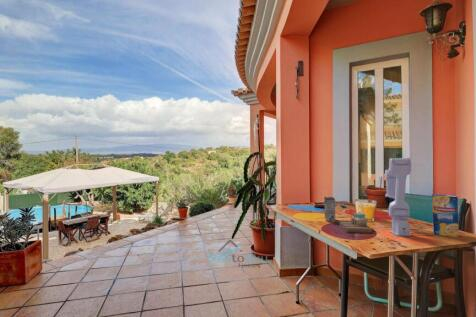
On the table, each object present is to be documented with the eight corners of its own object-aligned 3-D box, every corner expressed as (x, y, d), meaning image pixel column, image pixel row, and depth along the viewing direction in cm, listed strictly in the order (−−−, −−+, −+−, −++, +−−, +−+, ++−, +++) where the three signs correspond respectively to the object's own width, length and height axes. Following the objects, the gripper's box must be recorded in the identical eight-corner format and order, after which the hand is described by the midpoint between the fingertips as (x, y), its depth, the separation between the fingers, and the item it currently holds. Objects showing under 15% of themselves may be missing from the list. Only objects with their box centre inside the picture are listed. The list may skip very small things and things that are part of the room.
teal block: (365, 217, 159) (365, 213, 159) (359, 218, 157) (358, 214, 157) (360, 216, 162) (360, 212, 162) (354, 217, 161) (353, 213, 161)
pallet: (367, 224, 159) (367, 217, 159) (357, 225, 156) (357, 219, 156) (360, 222, 163) (360, 216, 163) (351, 223, 160) (351, 217, 160)
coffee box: (324, 218, 188) (323, 196, 188) (333, 218, 186) (333, 196, 187) (326, 221, 179) (325, 198, 179) (335, 221, 178) (335, 198, 178)
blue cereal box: (458, 237, 137) (457, 196, 137) (433, 234, 144) (432, 195, 144) (457, 234, 143) (456, 195, 143) (432, 231, 149) (431, 194, 149)
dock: (371, 232, 149) (371, 228, 149) (346, 232, 151) (346, 228, 151) (360, 224, 168) (360, 220, 168) (338, 224, 170) (338, 220, 170)
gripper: (403, 189, 156) (404, 211, 156) (393, 187, 171) (393, 207, 170) (391, 189, 157) (392, 211, 157) (381, 187, 172) (382, 207, 172)
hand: (392, 209), depth 164 cm, fingers open, 7 cm apart
